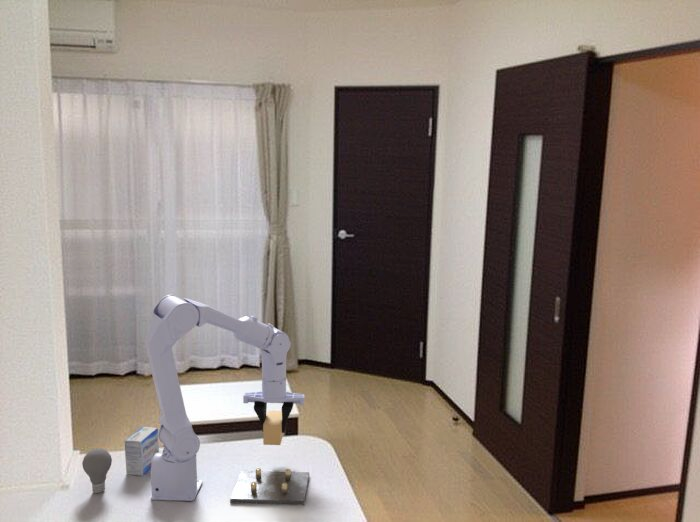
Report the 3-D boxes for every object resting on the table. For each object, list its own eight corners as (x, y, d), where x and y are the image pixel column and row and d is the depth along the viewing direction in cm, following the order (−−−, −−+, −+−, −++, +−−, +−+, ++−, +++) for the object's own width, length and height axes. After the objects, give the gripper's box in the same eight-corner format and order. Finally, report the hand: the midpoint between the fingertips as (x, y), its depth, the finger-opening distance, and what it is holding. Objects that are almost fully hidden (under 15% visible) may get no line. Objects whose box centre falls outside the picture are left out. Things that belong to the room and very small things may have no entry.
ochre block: (263, 444, 147) (263, 424, 146) (268, 429, 155) (268, 410, 154) (280, 445, 147) (280, 425, 146) (284, 430, 155) (284, 411, 154)
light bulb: (106, 481, 142) (104, 440, 140) (117, 491, 138) (115, 450, 136) (79, 491, 138) (77, 449, 136) (90, 502, 134) (88, 459, 132)
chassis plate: (230, 502, 134) (230, 490, 134) (241, 474, 146) (241, 462, 146) (303, 505, 134) (304, 492, 134) (308, 476, 146) (309, 464, 145)
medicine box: (143, 477, 145) (141, 442, 143) (125, 474, 145) (123, 440, 144) (159, 460, 152) (158, 427, 151) (143, 458, 153) (141, 425, 152)
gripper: (305, 372, 152) (305, 424, 154) (246, 370, 152) (247, 422, 155) (303, 383, 145) (302, 437, 147) (241, 381, 145) (242, 435, 148)
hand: (274, 430), depth 151 cm, fingers closed on ochre block, 4 cm apart
